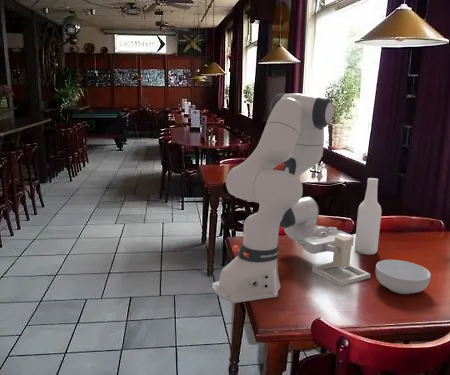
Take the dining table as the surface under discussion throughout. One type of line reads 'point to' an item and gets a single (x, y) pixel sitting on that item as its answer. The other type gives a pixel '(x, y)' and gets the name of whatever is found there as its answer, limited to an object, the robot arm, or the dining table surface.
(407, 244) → the dining table surface
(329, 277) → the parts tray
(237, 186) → the robot arm
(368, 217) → the alcohol
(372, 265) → the dining table surface
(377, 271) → the cereal bowl
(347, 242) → the stone block
